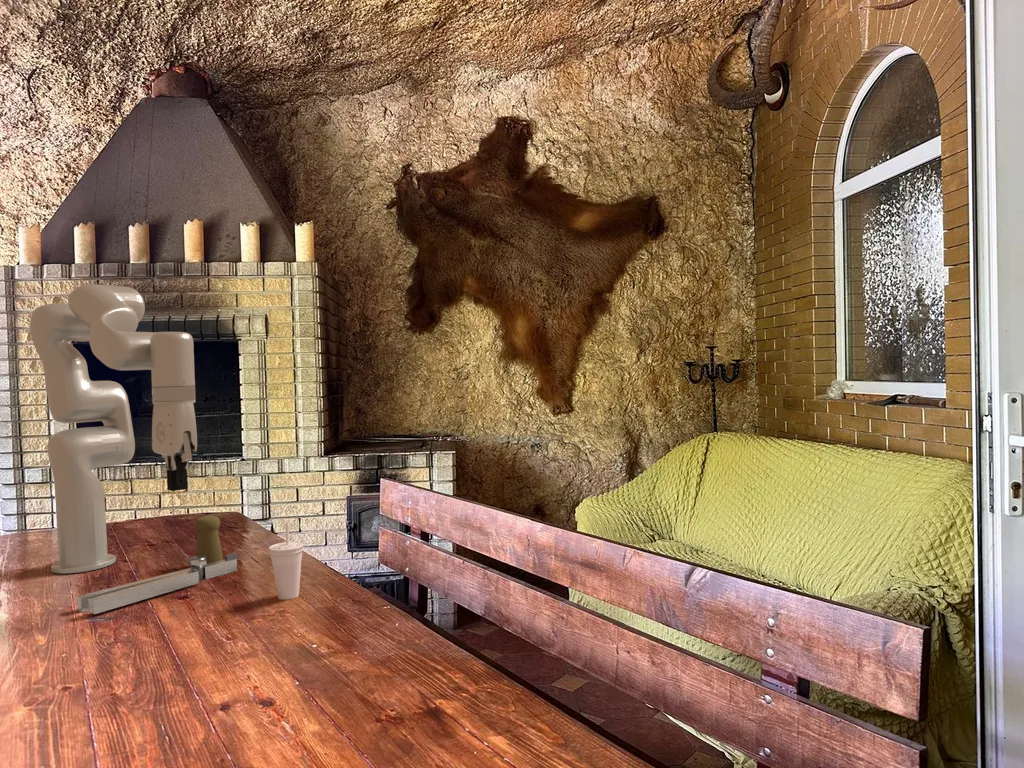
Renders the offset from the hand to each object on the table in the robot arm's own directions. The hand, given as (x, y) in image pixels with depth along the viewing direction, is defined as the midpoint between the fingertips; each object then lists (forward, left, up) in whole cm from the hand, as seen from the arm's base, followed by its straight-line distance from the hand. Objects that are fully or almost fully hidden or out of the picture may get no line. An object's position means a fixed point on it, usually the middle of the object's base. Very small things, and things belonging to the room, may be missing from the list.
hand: (177, 489), depth 135 cm
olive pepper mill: (-16, +13, -21) cm, 29 cm away
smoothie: (+19, +11, -21) cm, 30 cm away
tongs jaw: (-5, -4, -20) cm, 21 cm away
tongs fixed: (-7, -1, -21) cm, 22 cm away
